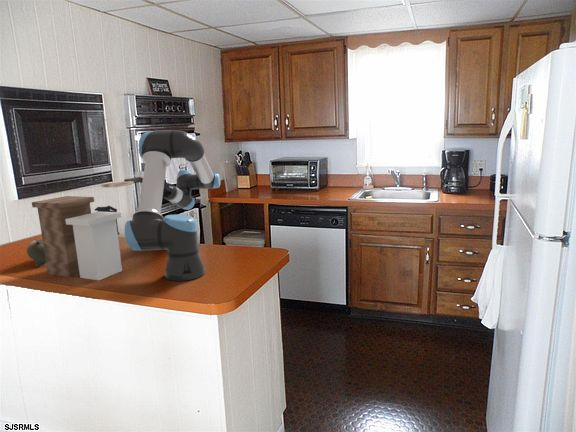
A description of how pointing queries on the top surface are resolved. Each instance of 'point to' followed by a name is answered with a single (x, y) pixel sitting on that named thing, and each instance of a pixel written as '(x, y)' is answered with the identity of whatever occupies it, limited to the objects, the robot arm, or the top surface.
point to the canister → (107, 209)
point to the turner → (123, 182)
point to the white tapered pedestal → (97, 244)
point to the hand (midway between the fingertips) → (138, 173)
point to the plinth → (61, 232)
